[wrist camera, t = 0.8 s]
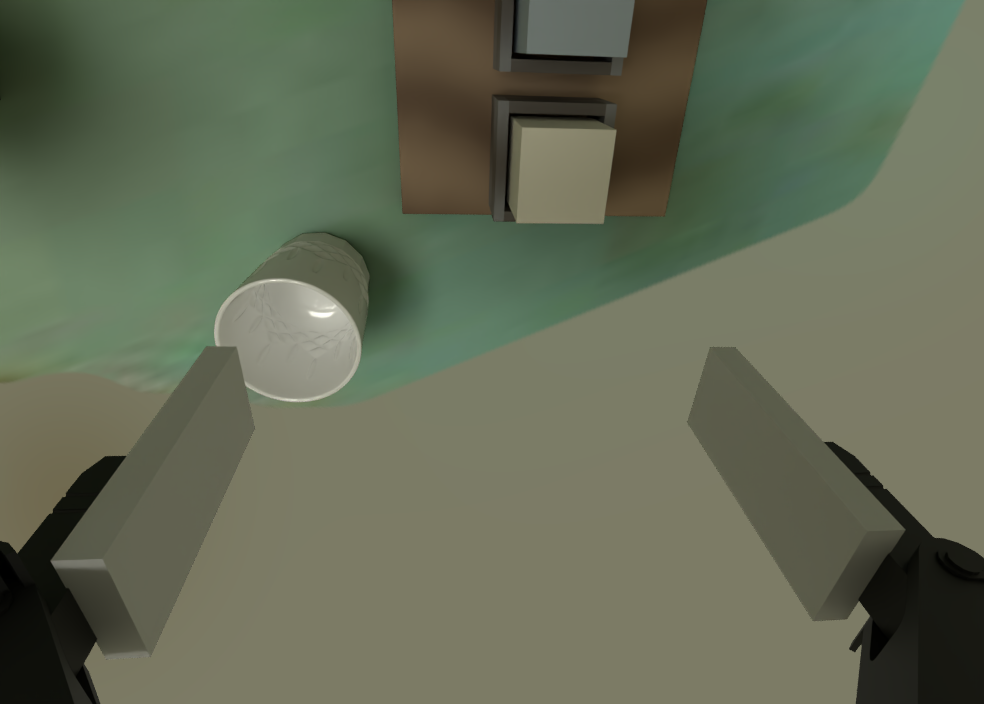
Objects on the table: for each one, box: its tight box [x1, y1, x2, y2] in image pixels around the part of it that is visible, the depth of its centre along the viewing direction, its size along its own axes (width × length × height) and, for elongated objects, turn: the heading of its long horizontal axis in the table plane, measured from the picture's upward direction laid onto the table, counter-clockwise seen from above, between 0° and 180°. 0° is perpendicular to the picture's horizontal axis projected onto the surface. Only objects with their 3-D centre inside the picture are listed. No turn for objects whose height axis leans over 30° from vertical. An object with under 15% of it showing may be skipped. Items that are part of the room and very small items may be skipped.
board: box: [392, 0, 707, 222], centre depth 29 cm, size 24×18×5 cm
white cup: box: [214, 233, 370, 402], centre depth 34 cm, size 8×8×10 cm
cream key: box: [507, 116, 617, 224], centre depth 30 cm, size 5×5×5 cm
